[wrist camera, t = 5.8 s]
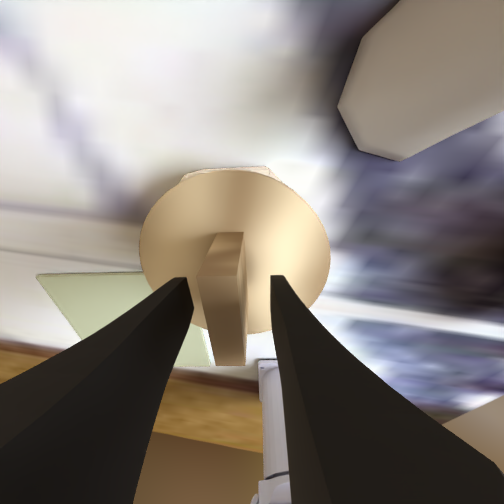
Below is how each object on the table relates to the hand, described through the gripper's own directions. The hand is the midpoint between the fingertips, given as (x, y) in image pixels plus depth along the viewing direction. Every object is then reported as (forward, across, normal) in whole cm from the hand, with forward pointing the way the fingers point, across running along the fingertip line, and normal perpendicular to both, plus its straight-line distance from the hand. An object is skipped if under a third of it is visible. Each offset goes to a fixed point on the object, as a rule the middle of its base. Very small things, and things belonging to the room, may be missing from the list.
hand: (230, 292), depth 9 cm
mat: (+6, +12, +10) cm, 17 cm away
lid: (+3, 0, 0) cm, 3 cm away
